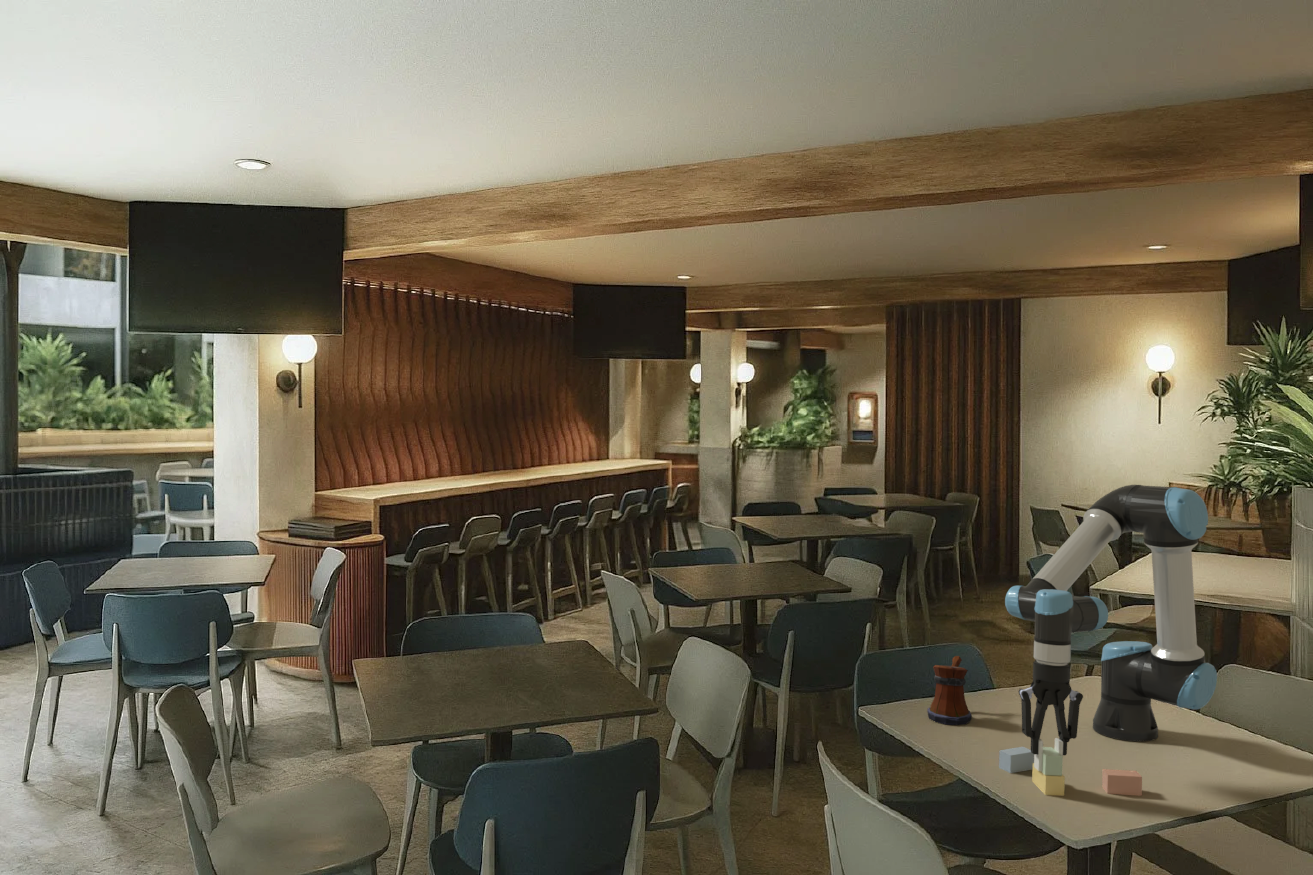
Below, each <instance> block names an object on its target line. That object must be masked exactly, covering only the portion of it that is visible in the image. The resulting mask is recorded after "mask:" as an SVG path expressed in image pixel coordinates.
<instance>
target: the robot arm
mask: <svg viewBox="0 0 1313 875" xmlns="http://www.w3.org/2000/svg"><path fill="white" fill-rule="evenodd" d="M1208 524H1209V513H1208V508H1207V506H1206V502H1205V501H1204V500H1203V498H1202V497H1201V495H1199V494H1198V493H1197V492H1196V491H1194V490H1192V489H1187V488H1181V487H1177V486H1162V485H1161V486H1158V485H1157V486H1156V485H1142V484H1129V485H1124V486H1121V487H1119V488H1116V489H1114V490H1111V491H1110V492H1108V493H1107V494H1105V495H1103V496H1102V497H1100V498H1099V499H1098V500H1096V501H1095V502H1094V503H1093V504H1092V505H1091V506H1090V507H1088V509H1087V510H1086V511H1085V512H1084V514H1083V518H1082V522H1081V524H1080V525H1079V526H1078V527H1077V528H1076V529H1075V530H1074V531H1073V533H1072V534H1070V536H1069V537H1068V538H1067V539H1066V540H1065V542H1064V543H1063V544H1062V545H1061V546H1060V547H1059V548H1058V549H1057V551H1056V552H1055V553H1054V554H1053V555H1052V556H1051V558H1049V559H1048V561H1046V563H1045V564H1044V565H1043V566H1042V567H1041V568H1040V570H1039V571H1038V572H1037V574H1035V575H1034V577H1033V578H1031V580H1030V581H1029V583H1028V584H1027V585H1026V586H1024V585H1013V586H1011V587H1010V588H1009V589H1008V591H1007V592H1006V594H1005V598H1004V605H1005V608H1006V610H1007V612H1008V614H1009V615H1011V616H1012V617H1016V618H1019V619H1021V620H1024V621H1029V622H1030V621H1031V622H1034V638H1033V639H1034V640H1033V658H1034V661H1033V663H1032V682H1031V684H1030V687H1028V688H1025V689H1023V688H1019V689H1018V690H1017V691H1018V694H1019V697H1020V699H1021V701H1020V702H1021V732H1022V734H1023V735H1024V736H1026V737H1027V738H1030V750H1031V752H1032V753H1033V754H1034V767H1035V768H1036V769H1037V770H1038V771H1042V757H1043V747H1044V740H1042V739H1041V735H1042V729H1043V725H1044V721H1045V716H1046V711H1048V707H1049V706H1052V707H1053V708H1054V714H1055V722H1056V726H1057V727H1056V729H1057V734H1058V737H1055V738H1054V747H1053V748H1054V749H1055V750H1056V751H1057V752H1058V753H1059V754H1061V755H1062V756H1063V757H1064V756H1067V754H1068V743H1069V742H1070V740H1072V739H1074V740H1075V739H1076V738H1077V737H1078V725H1079V717H1080V715H1079V714H1080V706H1081V703H1082V700H1083V698H1084V695H1083V693H1081V692H1079V691H1078V690H1073V689H1072V686H1071V684H1070V682H1071V665H1070V664H1069V663H1070V662H1071V660H1072V657H1071V655H1072V633H1073V634H1074V633H1083V632H1093V631H1095V630H1099V629H1102V628H1103V627H1104V626H1105V625H1106V624H1107V622H1108V620H1109V611H1108V606H1107V605H1106V604H1105V602H1104V601H1103V600H1102V599H1100V598H1098V597H1097V596H1088V595H1084V596H1077V595H1073V594H1072V593H1071V592H1070V591H1068V590H1069V589H1070V588H1071V587H1072V585H1073V584H1074V583H1075V582H1076V581H1077V580H1078V578H1080V576H1081V575H1082V574H1083V573H1084V572H1085V571H1086V570H1087V568H1088V567H1089V566H1090V565H1091V563H1092V562H1093V561H1094V560H1095V559H1096V558H1097V557H1098V556H1099V555H1100V553H1101V552H1102V551H1103V550H1104V549H1105V547H1106V546H1107V545H1108V543H1110V542H1112V541H1116V540H1118V539H1119V538H1120V536H1121V535H1122V534H1124V533H1131V532H1134V533H1140V534H1143V544H1144V545H1145V546H1146V547H1147V548H1149V549H1150V550H1151V564H1152V565H1151V566H1152V581H1153V594H1154V596H1153V598H1154V614H1155V625H1156V627H1155V628H1156V641H1157V642H1156V644H1155V645H1154V646H1153V644H1151V643H1149V642H1146V641H1136V640H1135V641H1128V640H1123V641H1112V642H1108V643H1106V644H1105V645H1103V647H1102V652H1101V659H1100V661H1101V668H1100V669H1101V672H1100V674H1101V680H1100V681H1101V682H1100V683H1101V684H1100V686H1101V687H1100V690H1101V691H1100V701H1099V704H1098V706H1097V708H1096V711H1095V713H1094V717H1093V718H1092V729H1093V731H1094V732H1096V733H1097V734H1100V735H1102V736H1105V737H1108V738H1112V739H1115V740H1121V741H1129V742H1149V741H1153V740H1156V739H1158V737H1159V728H1158V727H1159V726H1158V724H1157V721H1156V718H1155V714H1154V711H1153V708H1152V700H1153V701H1158V702H1162V703H1164V704H1165V703H1166V704H1169V705H1172V706H1176V707H1178V708H1180V709H1183V708H1184V709H1189V710H1196V711H1197V710H1201V709H1202V708H1204V707H1205V706H1206V705H1208V703H1209V702H1210V701H1211V699H1212V697H1213V695H1214V693H1215V691H1216V687H1217V683H1218V674H1217V669H1216V668H1215V666H1214V665H1213V664H1211V663H1209V662H1206V656H1205V651H1204V649H1203V648H1201V647H1200V646H1199V645H1198V642H1197V641H1198V639H1197V625H1196V624H1197V623H1196V607H1195V592H1194V591H1195V590H1194V589H1195V588H1194V573H1193V572H1194V571H1193V556H1192V555H1193V554H1192V550H1193V549H1194V548H1195V547H1196V546H1197V545H1198V544H1199V539H1201V538H1202V537H1203V536H1204V535H1205V533H1206V532H1207V526H1208ZM1033 695H1034V696H1035V699H1036V701H1035V710H1034V714H1033V720H1032V702H1031V699H1032V697H1033ZM1067 698H1069V704H1068V713H1067V714H1068V715H1067V719H1066V713H1065V709H1066V708H1065V701H1066V699H1067ZM1066 720H1067V721H1066Z"/></svg>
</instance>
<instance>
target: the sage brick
mask: <svg viewBox="0 0 1313 875" xmlns="http://www.w3.org/2000/svg"><path fill="white" fill-rule="evenodd" d="M1063 758H1064V755H1063V756H1062V755H1061V754H1059V753H1058V752H1057V751H1056V750H1055V749H1054V747H1052V746H1043V757H1042V771H1041V772H1042V773H1043V774H1044V775H1054V776H1062V775H1063V764H1064V763H1063V761H1064V760H1063Z"/></svg>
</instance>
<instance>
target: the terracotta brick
mask: <svg viewBox="0 0 1313 875" xmlns="http://www.w3.org/2000/svg"><path fill="white" fill-rule="evenodd" d="M1101 774H1102V775H1101V776H1102V783H1101V786H1102V787H1101V788H1102V789H1103V790H1104V791H1105V793H1106V794H1109V795H1127V796H1128V795H1129V796H1143V794H1142V791H1143V790H1142V789H1143V776H1142V775H1141V774H1140V773H1139V772H1138V771H1137V770H1127V769H1125V770H1124V769H1108V768H1102V773H1101Z"/></svg>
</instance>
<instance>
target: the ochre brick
mask: <svg viewBox="0 0 1313 875" xmlns="http://www.w3.org/2000/svg"><path fill="white" fill-rule="evenodd" d="M1031 771H1032V775H1031V778H1032V779H1031V781H1032V783H1033V784H1034V785H1035V786H1036V787H1037V788H1038V789H1039V790H1040V791H1041V792H1042V794H1043V795H1045V796H1065V781H1066V776H1065V775H1064V774H1062V776H1054V775H1044V774H1043V773H1042V772H1041V771H1038V770H1037V769H1036V768H1035V767H1034V763H1033V769H1031Z"/></svg>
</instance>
